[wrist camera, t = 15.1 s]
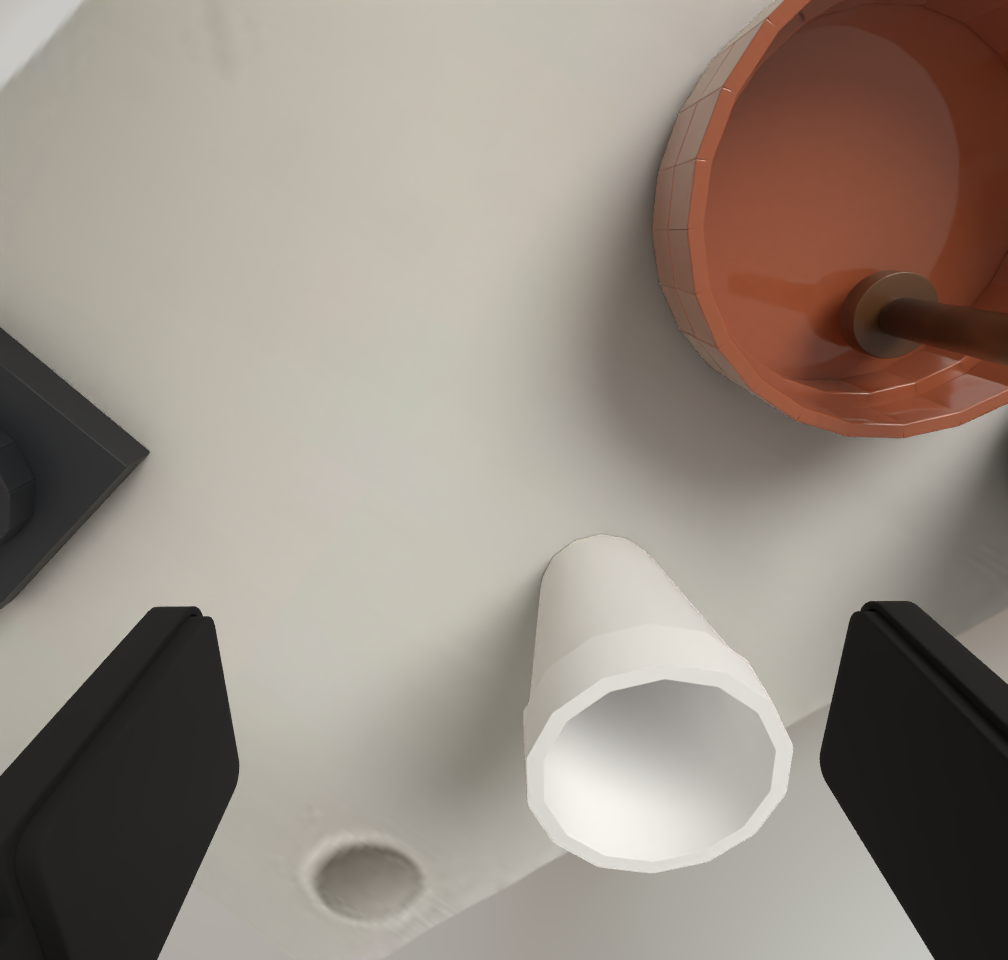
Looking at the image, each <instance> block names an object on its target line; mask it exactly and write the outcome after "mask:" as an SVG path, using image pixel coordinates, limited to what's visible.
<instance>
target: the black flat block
mask: <svg viewBox="0 0 1008 960" xmlns="http://www.w3.org/2000/svg"><path fill="white" fill-rule="evenodd" d="M148 454H149V451H148V450H147V449H146V448H145V447H144V446H142V445H141V444H140V443H139V442H138V441H136V440H135V439H134V438H133V437H132V436H130V435H129V434H128V433H127V432H126V431H124V430H123V429H122V428H121V427H120V426H118V425H117V424H116V423H115V422H114V421H112V420H111V419H110V418H109V417H107V416H106V415H105V414H104V413H103V412H101V411H100V410H99V409H98V408H97V407H95V406H94V405H93V404H92V403H91V402H89V401H88V400H87V399H86V398H85V397H83V396H82V395H81V394H80V393H79V392H77V391H76V390H75V389H74V388H73V387H71V386H70V385H69V384H68V383H67V382H65V381H64V380H63V379H62V378H60V377H59V376H58V375H57V374H56V373H54V372H53V371H52V370H51V369H50V368H48V367H47V366H46V365H45V364H44V363H42V362H41V361H40V360H39V359H38V358H36V357H35V356H34V355H33V354H32V353H30V352H29V351H28V350H27V349H26V348H24V347H23V346H22V345H21V344H20V343H18V342H17V341H16V340H15V339H13V338H12V337H11V336H10V335H9V334H7V333H6V332H5V331H4V330H3V329H1V328H0V609H2V608H3V607H4V606H5V605H7V604H8V603H9V602H11V601H12V600H13V599H14V598H15V597H16V596H17V595H18V594H19V593H20V592H21V590H22V589H23V588H24V587H25V586H26V585H27V584H28V583H29V582H30V581H31V580H32V579H33V578H34V576H35V575H36V574H37V573H38V572H39V571H40V570H41V569H42V568H43V567H44V566H45V565H46V564H47V562H48V561H49V560H50V559H51V558H52V557H53V556H54V555H55V554H56V553H57V552H58V551H59V550H60V548H61V547H62V546H63V545H64V544H65V543H66V542H67V541H68V540H69V539H70V538H71V537H72V536H73V534H74V533H75V532H76V531H77V530H78V529H79V528H80V527H81V526H82V525H83V524H84V523H85V522H86V520H87V519H88V518H89V517H90V516H91V515H92V514H93V513H94V512H95V511H96V510H97V509H98V508H99V506H100V505H101V504H102V503H103V502H104V501H105V500H106V499H107V498H108V497H109V496H110V495H111V494H112V492H113V491H114V490H115V489H116V488H117V487H118V486H119V485H120V484H121V483H122V482H123V481H124V480H125V478H126V477H127V476H128V475H129V474H130V473H131V472H132V471H133V470H134V469H135V468H136V467H137V466H138V464H139V463H140V462H141V461H142V460H143V459H144V458H145V457H146V456H147V455H148Z"/></svg>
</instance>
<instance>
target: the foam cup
mask: <svg viewBox="0 0 1008 960" xmlns="http://www.w3.org/2000/svg"><path fill="white" fill-rule="evenodd" d="M523 729H524V758H525V772H526V787H527V801H528V806H529V808H530V809H531V811H532V812H533V814H534V815H535V816H536V818H537V819H538V821H539V822H540V824H541V825H542V827H543V828H544V830H545V831H546V832H547V834H548V835H549V837H550V838H551V840H552V841H553V843H554V844H556V845H558V846H560V847H562V848H564V849H566V850H567V851H569V852H571V853H573V854H575V855H577V856H579V857H581V858H583V859H584V860H586V861H588V862H590V863H592V864H594V865H595V866H597V867H603V868H611V869H620V870H628V871H636V872H644V873H657V872H662V871H667V870H672V869H676V868H681V867H686V866H691V865H696V864H700V863H705V862H709V861H710V860H712V859H714V858H715V857H717V856H719V855H721V854H722V853H724V852H726V851H727V850H729V849H730V848H732V847H734V846H736V845H737V844H739V843H741V842H742V841H744V840H746V839H748V838H749V837H751V836H753V835H754V834H756V832H757V831H758V830H759V829H760V827H761V826H762V825H763V823H764V822H765V820H766V819H767V818H768V817H769V815H770V814H771V813H772V811H773V810H774V809H775V808H776V806H777V805H778V804H779V802H780V801H781V800H782V798H783V797H784V796H785V794H786V792H787V786H788V779H789V773H790V766H791V760H792V753H793V744H792V742H791V741H790V738H789V736H788V734H787V732H786V729H785V727H784V725H783V723H782V721H781V719H780V717H779V714H778V712H777V710H776V708H775V706H774V704H773V702H772V700H771V699H770V697H769V695H768V694H767V692H766V690H765V689H764V687H763V685H762V684H761V682H760V680H759V679H758V677H757V675H756V674H755V672H754V670H753V669H752V667H751V666H750V664H749V662H748V661H747V660H746V659H745V658H743V657H742V656H740V655H739V654H737V653H736V652H734V651H733V650H731V649H730V648H729V647H728V645H727V644H726V643H725V642H724V641H723V640H722V638H721V637H720V636H719V635H718V634H717V633H716V631H715V630H714V629H713V628H712V627H711V626H710V624H709V623H708V622H707V621H706V620H705V619H704V617H703V616H702V615H701V614H700V613H699V612H698V610H697V609H696V608H695V607H694V606H693V605H692V604H691V602H690V601H689V600H688V599H687V598H686V597H685V595H684V594H683V593H682V592H681V591H680V590H679V588H678V587H677V586H676V585H675V584H674V583H673V581H672V580H671V579H670V578H669V577H668V576H667V574H666V573H665V572H664V571H663V570H662V569H661V567H660V566H659V565H658V564H657V563H656V562H655V560H654V559H653V558H652V557H651V556H649V555H648V553H647V552H646V551H644V550H643V549H641V548H640V547H639V546H637V545H636V544H634V543H633V542H631V541H630V540H628V539H627V538H621V537H615V536H609V535H603V534H599V535H595V536H591V537H587V538H583V539H579V540H575V541H573V542H572V543H571V544H569V545H568V546H567V547H565V548H564V549H563V550H561V551H560V552H559V553H557V554H556V555H555V556H553V558H552V560H551V562H550V564H549V566H548V568H547V570H546V572H545V574H544V576H543V577H542V584H541V590H540V600H539V610H538V620H537V630H536V640H535V649H534V659H533V669H532V679H531V689H530V699H529V702H528V704H527V706H526V708H525V709H524V711H523Z"/></svg>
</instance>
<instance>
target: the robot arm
mask: <svg viewBox="0 0 1008 960" xmlns="http://www.w3.org/2000/svg"><path fill="white" fill-rule="evenodd" d="M820 767H821V771H822V774H823V777H824V779H825V781H826V783H827V785H828V786H829V788H830V790H831V791H832V793H833V794H834V796H835V798H836V799H837V801H838V803H839V804H840V806H841V808H842V809H843V811H844V812H845V814H846V816H847V817H848V819H849V821H850V822H851V824H852V826H853V827H854V829H855V830H856V832H857V834H858V835H859V837H860V839H861V840H862V842H863V843H864V845H865V847H866V848H867V850H868V852H869V853H870V855H871V857H872V858H873V860H874V861H875V863H876V865H877V866H878V868H879V870H880V871H881V873H882V875H883V876H884V878H885V879H886V881H887V883H888V884H889V886H890V888H891V889H892V891H893V892H894V894H895V896H896V897H897V899H898V901H899V902H900V904H901V905H902V907H903V909H904V910H905V912H906V914H907V915H908V917H909V919H910V920H911V922H912V923H913V925H914V927H915V928H916V930H917V932H918V933H919V935H920V936H921V938H922V940H923V941H924V943H925V945H926V946H927V948H928V949H929V951H930V953H931V954H932V956H933V958H934V959H935V960H1008V684H1007V683H1005V682H1004V681H1003V680H1002V679H1001V678H1000V677H998V675H996V674H995V673H994V672H993V671H992V670H991V669H989V668H988V667H987V666H986V665H985V664H983V663H982V662H981V661H980V660H979V659H978V658H977V657H976V656H975V655H973V654H972V653H971V652H970V651H969V650H968V649H967V648H965V647H964V646H963V645H962V644H961V643H960V642H959V641H957V640H956V639H955V638H954V637H953V636H952V635H950V634H949V633H948V632H947V631H946V630H945V629H944V628H942V627H941V626H940V625H939V624H938V623H937V622H936V621H934V620H933V619H932V618H931V617H930V616H929V615H928V614H926V613H925V612H924V611H923V610H922V609H921V608H920V607H918V606H917V605H916V604H914V603H912V602H909V601H870V602H867V603H865V604H864V606H863V607H862V608H861V611H857V612H855V613H853V615H852V616H851V618H850V621H849V626H848V630H847V634H846V639H845V643H844V648H843V652H842V657H841V661H840V666H839V670H838V675H837V679H836V684H835V688H834V693H833V697H832V702H831V706H830V711H829V715H828V720H827V724H826V729H825V733H824V738H823V742H822V747H821V752H820ZM238 775H239V758H238V752H237V747H236V741H235V736H234V730H233V724H232V719H231V713H230V708H229V702H228V696H227V691H226V685H225V679H224V674H223V668H222V663H221V657H220V651H219V646H218V640H217V635H216V629H215V625H214V621H213V620H212V618H211V617H209V616H203V615H202V613H201V611H200V609H199V608H197V607H195V606H191V607H154V608H152V609H151V610H150V611H148V612H147V614H146V615H145V616H144V617H143V618H142V619H141V620H140V621H139V622H138V624H137V625H136V626H135V627H134V628H133V629H132V630H131V631H130V632H129V634H128V635H127V636H126V637H125V638H124V639H123V640H122V641H121V642H120V644H119V645H118V646H117V647H116V648H115V649H114V650H113V651H112V652H111V654H110V655H109V656H108V657H107V658H106V659H105V660H104V661H103V662H102V664H101V665H100V666H99V667H98V668H97V669H96V670H95V671H94V672H93V674H92V675H91V676H90V677H89V678H88V679H87V680H86V681H85V683H84V684H83V685H82V686H81V687H80V688H79V689H78V690H77V691H76V693H75V694H74V695H73V696H72V697H71V698H70V699H69V700H68V701H67V703H66V704H65V705H64V706H63V707H62V708H61V709H60V710H59V711H58V713H57V714H56V715H55V716H54V717H53V718H52V719H51V720H50V721H49V723H48V724H47V725H46V726H45V727H44V728H43V729H42V730H41V731H40V733H39V734H38V735H37V736H36V737H35V738H34V739H33V740H32V741H31V743H30V744H29V745H28V746H27V747H26V748H25V749H24V750H23V751H22V753H21V754H20V755H19V756H18V757H17V758H16V759H15V760H14V762H13V763H12V764H11V765H10V766H9V767H8V768H7V769H6V770H5V772H4V773H3V774H2V775H1V776H0V960H157V959H158V957H159V954H160V952H161V950H162V948H163V945H164V943H165V941H166V939H167V937H168V935H169V933H170V930H171V928H172V926H173V923H174V921H175V919H176V917H177V915H178V913H179V911H180V908H181V906H182V904H183V902H184V899H185V898H186V895H187V893H188V891H189V888H190V887H191V884H192V882H193V880H194V878H195V876H196V873H197V871H198V869H199V867H200V865H201V862H202V860H203V858H204V856H205V854H206V852H207V849H208V847H209V845H210V843H211V841H212V838H213V836H214V834H215V832H216V830H217V827H218V825H219V823H220V821H221V819H222V816H223V814H224V812H225V810H226V808H227V806H228V803H229V801H230V799H231V797H232V795H233V792H234V790H235V787H236V785H237V781H238Z"/></svg>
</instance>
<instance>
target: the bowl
mask: <svg viewBox="0 0 1008 960" xmlns="http://www.w3.org/2000/svg"><path fill="white" fill-rule="evenodd" d="M652 236H653V243H654V250H655V258H656V265H657V272H658V279H659V283H660V286H661V288H662V291H663V293H664V295H665V298H666V300H667V302H668V305H669V307H670V309H671V312H672V314H673V316H674V319H675V321H676V323H677V326H678V328H679V329H680V331H681V332H682V334H683V335H684V336H685V337H686V338H687V340H688V341H689V342H690V343H691V345H692V346H693V347H694V348H695V349H696V351H697V352H698V353H699V354H700V356H701V357H702V358H703V359H704V360H705V362H706V363H707V364H708V365H709V366H710V367H712V368H713V369H715V370H716V371H718V372H719V373H721V374H722V375H724V376H725V377H727V378H728V379H730V380H731V381H733V382H734V383H736V384H737V385H739V386H740V387H742V388H743V389H745V390H746V391H748V392H749V393H751V394H753V395H754V396H756V397H757V398H759V399H761V400H762V401H764V402H766V403H767V404H769V405H770V406H772V407H774V408H775V409H777V410H779V411H780V412H782V413H783V414H785V415H787V416H788V417H790V418H791V419H793V420H795V421H797V422H800V423H803V424H807V425H810V426H813V427H817V428H820V429H823V430H826V431H830V432H833V433H836V434H839V435H843V436H848V437H877V438H906V437H911V436H915V435H920V434H924V433H929V432H933V431H938V430H943V429H947V428H952V427H956V426H960V425H962V424H964V423H967V422H969V421H971V420H973V419H975V418H977V417H979V416H982V415H984V414H986V413H988V412H990V411H992V410H995V409H997V408H999V407H1001V406H1003V405H1005V404H1007V403H1008V366H1005V365H1001V364H997V363H993V362H989V361H986V360H982V359H978V358H974V357H970V356H966V355H963V354H959V353H955V352H951V351H947V350H943V349H939V348H936V347H932V346H928V345H924V344H921V345H920V346H918V347H917V348H916V349H914V350H913V351H911V352H910V353H908V354H906V355H903V356H901V357H897V358H891V359H882V358H876V357H873V356H870V355H867V354H864V353H861V352H858V351H856V350H855V349H853V348H852V347H851V346H850V345H848V343H847V342H846V341H845V339H844V337H843V335H842V333H841V329H840V312H841V308H842V305H843V303H844V300H845V299H846V297H847V295H848V294H849V292H850V291H851V290H852V289H853V287H854V286H855V285H856V284H857V283H859V282H860V281H861V280H862V279H864V278H865V277H867V276H869V275H871V274H873V273H876V272H879V271H885V270H895V271H906V272H913V273H916V274H919V275H921V276H923V277H924V278H926V279H927V280H928V281H929V282H930V283H931V284H932V285H933V287H934V289H935V291H936V293H937V296H938V301H939V303H944V304H950V305H957V306H963V307H969V308H975V309H982V310H988V311H994V312H1001V313H1007V314H1008V0H775V1H774V2H773V3H771V4H770V5H769V6H768V7H766V8H765V9H764V10H763V11H761V12H760V13H759V14H758V15H757V16H756V17H755V18H754V19H753V20H752V21H751V22H750V23H749V24H748V25H747V26H746V27H745V28H744V29H743V30H742V31H741V32H740V33H739V34H738V35H737V36H736V37H735V38H733V39H732V40H731V41H730V42H729V43H728V44H727V45H726V46H725V47H724V48H723V49H722V50H721V51H720V52H719V53H718V54H717V55H716V56H715V57H714V59H713V60H712V61H711V63H710V64H709V66H708V68H707V69H706V71H705V72H704V74H703V76H702V77H701V79H700V80H699V82H698V83H697V85H696V87H695V88H694V90H693V91H692V93H691V95H690V96H689V98H688V99H687V101H686V102H685V104H684V106H683V107H682V109H681V110H680V114H678V116H677V119H676V122H675V125H674V128H673V131H672V133H671V136H670V139H669V142H668V145H667V148H666V150H665V153H664V156H663V159H662V162H661V165H660V168H659V172H658V175H657V184H656V194H655V203H654V213H653V222H652Z"/></svg>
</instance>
